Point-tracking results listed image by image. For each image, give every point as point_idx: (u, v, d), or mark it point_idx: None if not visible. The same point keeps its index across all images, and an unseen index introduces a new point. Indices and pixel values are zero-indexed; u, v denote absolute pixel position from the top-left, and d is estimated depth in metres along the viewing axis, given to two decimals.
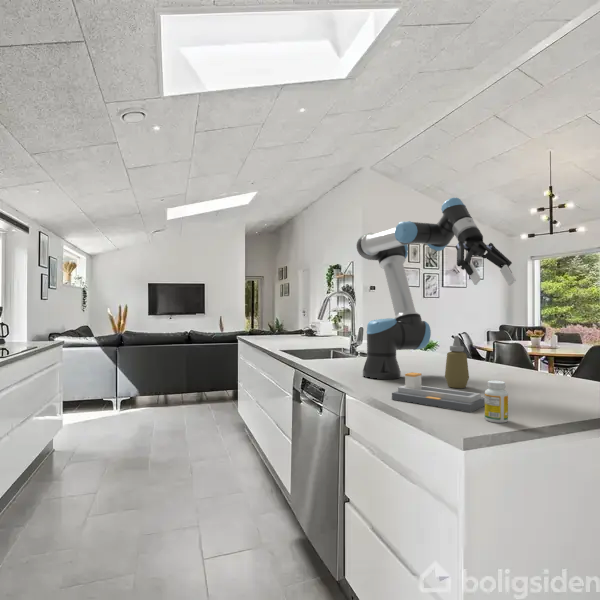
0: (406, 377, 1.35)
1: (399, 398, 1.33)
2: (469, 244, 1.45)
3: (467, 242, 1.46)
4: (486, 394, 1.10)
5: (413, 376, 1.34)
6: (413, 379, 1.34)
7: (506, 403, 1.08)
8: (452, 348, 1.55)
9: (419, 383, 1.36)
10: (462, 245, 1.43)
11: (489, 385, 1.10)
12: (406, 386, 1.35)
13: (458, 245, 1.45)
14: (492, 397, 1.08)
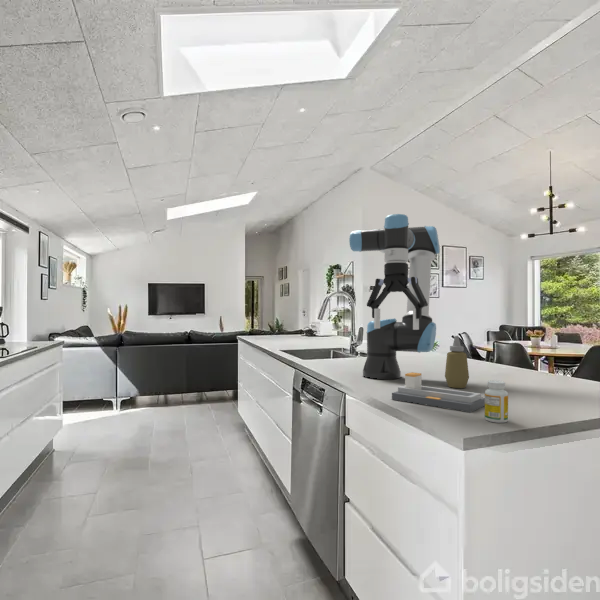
0: (406, 377, 1.35)
1: (399, 398, 1.33)
2: (385, 282, 1.43)
3: (385, 279, 1.43)
4: (486, 394, 1.10)
5: (413, 376, 1.34)
6: (413, 379, 1.34)
7: (506, 403, 1.08)
8: (452, 348, 1.55)
9: (419, 383, 1.36)
10: (376, 284, 1.45)
11: (489, 385, 1.10)
12: (406, 386, 1.35)
13: None
14: (492, 397, 1.08)
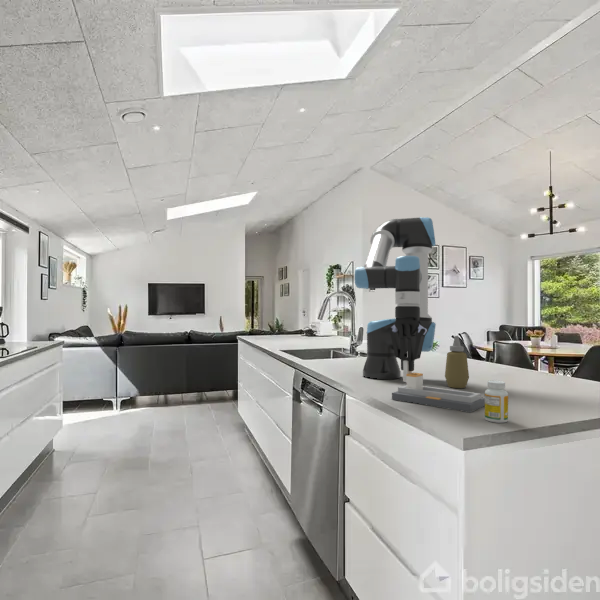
0: (407, 377, 1.35)
1: (399, 398, 1.33)
2: (397, 324, 1.39)
3: (395, 323, 1.40)
4: (486, 394, 1.10)
5: (414, 376, 1.34)
6: (414, 379, 1.34)
7: (506, 403, 1.08)
8: (452, 348, 1.55)
9: (420, 383, 1.36)
10: (391, 333, 1.40)
11: (489, 385, 1.10)
12: (407, 386, 1.35)
13: None
14: (492, 397, 1.08)
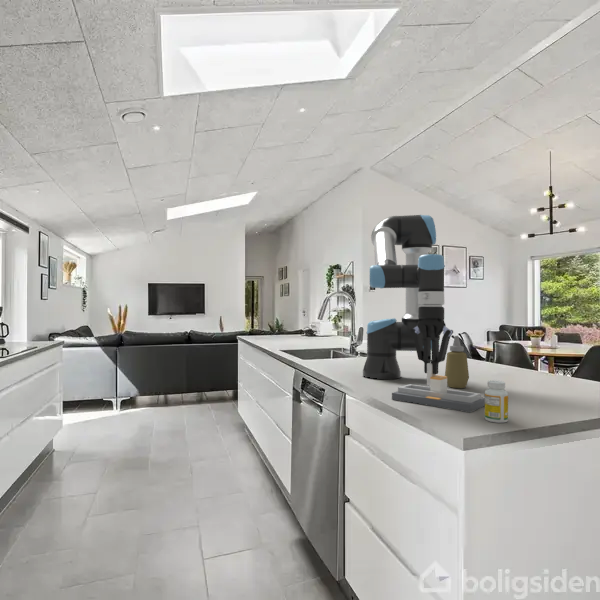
0: (431, 380, 1.30)
1: (399, 398, 1.33)
2: (420, 325, 1.34)
3: (418, 324, 1.34)
4: (486, 394, 1.10)
5: (439, 379, 1.28)
6: (439, 382, 1.28)
7: (506, 403, 1.08)
8: (452, 348, 1.55)
9: (445, 386, 1.30)
10: (414, 334, 1.35)
11: (489, 385, 1.10)
12: (431, 389, 1.30)
13: None
14: (492, 397, 1.08)
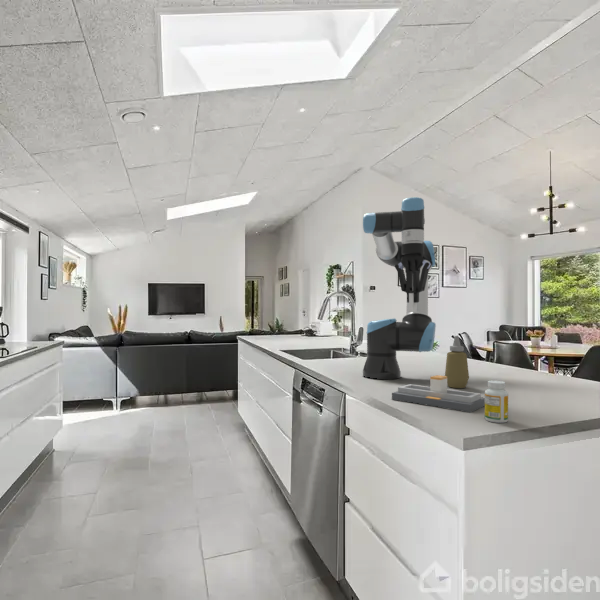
0: (431, 380, 1.30)
1: (399, 398, 1.33)
2: (403, 261, 1.52)
3: (401, 260, 1.53)
4: (486, 394, 1.10)
5: (439, 379, 1.28)
6: (439, 382, 1.28)
7: (506, 403, 1.08)
8: (452, 348, 1.55)
9: (445, 386, 1.30)
10: (398, 269, 1.54)
11: (489, 385, 1.10)
12: (431, 389, 1.30)
13: None
14: (492, 397, 1.08)
